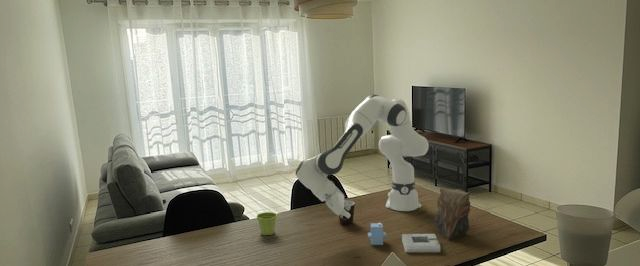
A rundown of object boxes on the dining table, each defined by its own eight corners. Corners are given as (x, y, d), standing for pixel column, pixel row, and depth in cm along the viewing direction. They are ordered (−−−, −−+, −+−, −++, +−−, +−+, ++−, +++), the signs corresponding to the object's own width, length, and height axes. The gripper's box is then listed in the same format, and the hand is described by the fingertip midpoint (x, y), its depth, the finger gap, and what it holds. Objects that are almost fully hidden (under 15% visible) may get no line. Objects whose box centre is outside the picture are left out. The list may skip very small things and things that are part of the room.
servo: (367, 240, 194) (367, 221, 192) (385, 240, 193) (385, 221, 192) (368, 244, 189) (368, 225, 188) (386, 244, 189) (385, 225, 188)
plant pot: (265, 228, 213) (264, 210, 212) (281, 231, 208) (280, 213, 207) (253, 234, 205) (252, 217, 204) (269, 238, 200) (268, 220, 199)
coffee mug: (358, 224, 213) (357, 204, 212) (341, 227, 210) (341, 207, 208) (347, 217, 224) (347, 198, 222) (332, 219, 221) (331, 200, 219)
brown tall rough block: (433, 230, 203) (434, 188, 200) (458, 227, 206) (459, 185, 202) (446, 240, 191) (447, 196, 188) (473, 237, 193) (474, 193, 190)
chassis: (402, 240, 193) (402, 234, 192) (434, 240, 192) (434, 233, 191) (405, 252, 181) (405, 245, 180) (440, 252, 180) (440, 245, 179)
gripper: (330, 193, 178) (354, 216, 179) (332, 179, 199) (354, 200, 199) (319, 204, 179) (344, 226, 180) (322, 189, 200) (344, 210, 201)
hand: (349, 212), depth 190 cm, fingers open, 8 cm apart
